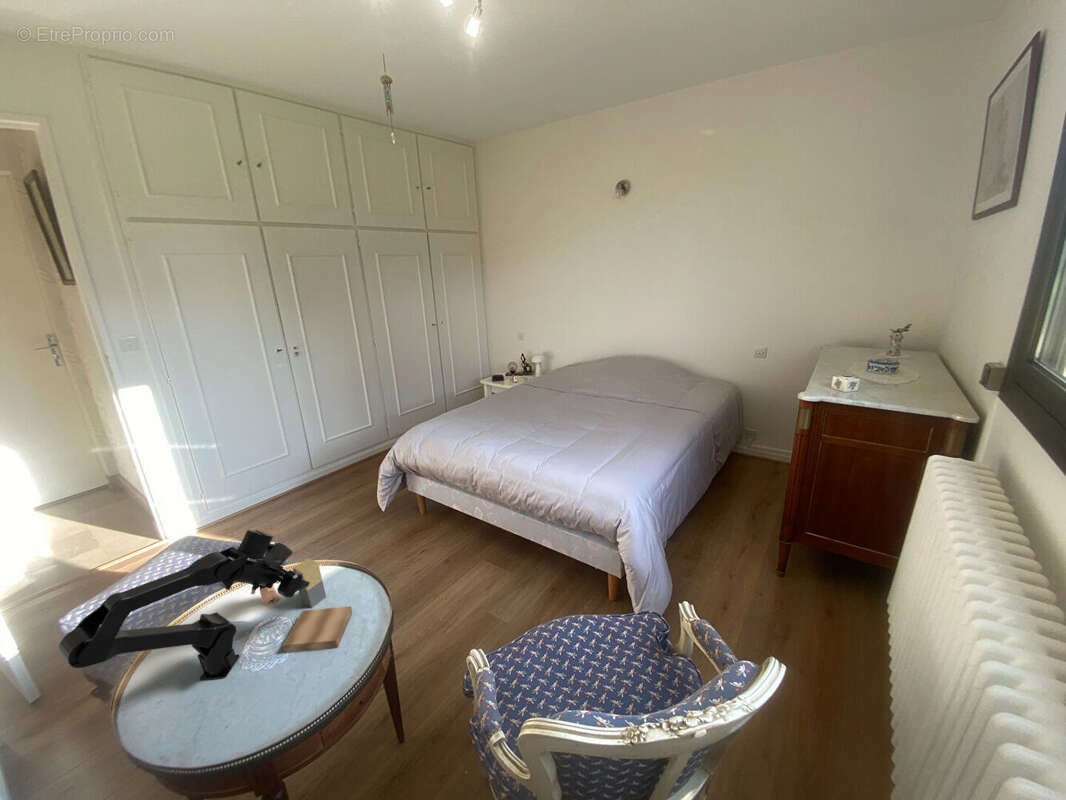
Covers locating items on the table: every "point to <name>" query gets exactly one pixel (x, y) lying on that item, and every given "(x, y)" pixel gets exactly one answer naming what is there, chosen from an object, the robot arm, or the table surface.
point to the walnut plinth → (318, 629)
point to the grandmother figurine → (267, 593)
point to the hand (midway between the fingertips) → (299, 579)
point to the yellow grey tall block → (311, 582)
